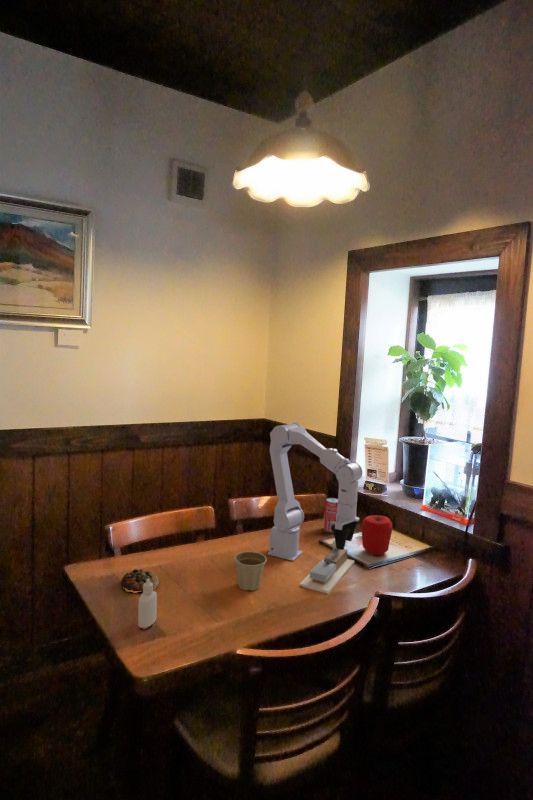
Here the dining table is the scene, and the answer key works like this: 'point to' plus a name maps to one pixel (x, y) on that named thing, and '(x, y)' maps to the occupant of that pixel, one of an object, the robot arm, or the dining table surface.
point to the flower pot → (250, 569)
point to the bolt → (332, 553)
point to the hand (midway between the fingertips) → (344, 544)
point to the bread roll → (138, 580)
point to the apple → (376, 534)
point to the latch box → (341, 570)
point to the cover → (322, 571)
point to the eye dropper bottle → (147, 605)
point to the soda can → (330, 513)
